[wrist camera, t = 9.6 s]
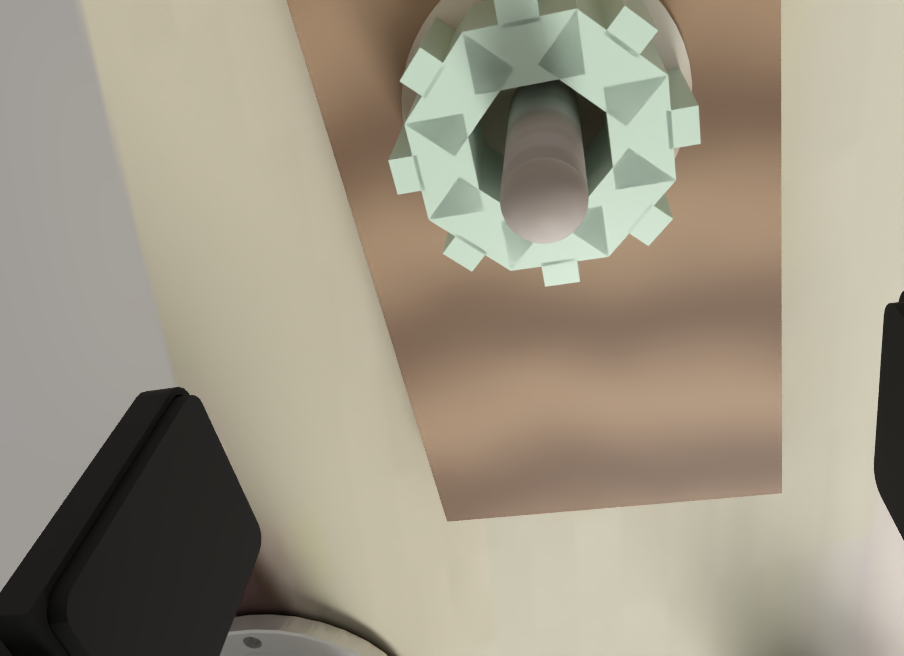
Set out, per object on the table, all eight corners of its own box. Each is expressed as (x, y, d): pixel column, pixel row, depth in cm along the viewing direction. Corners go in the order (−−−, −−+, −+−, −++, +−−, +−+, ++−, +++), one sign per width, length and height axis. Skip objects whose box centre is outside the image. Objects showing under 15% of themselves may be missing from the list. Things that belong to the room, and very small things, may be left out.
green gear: (689, 212, 22) (707, 263, 20) (439, 250, 24) (427, 303, 21) (670, -67, 19) (689, -46, 16) (375, -3, 20) (351, 25, 18)
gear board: (768, 454, 30) (842, 671, 22) (452, 484, 32) (424, 689, 25) (753, -653, 15) (954, -1090, 8) (178, -452, 18) (-91, -636, 10)
